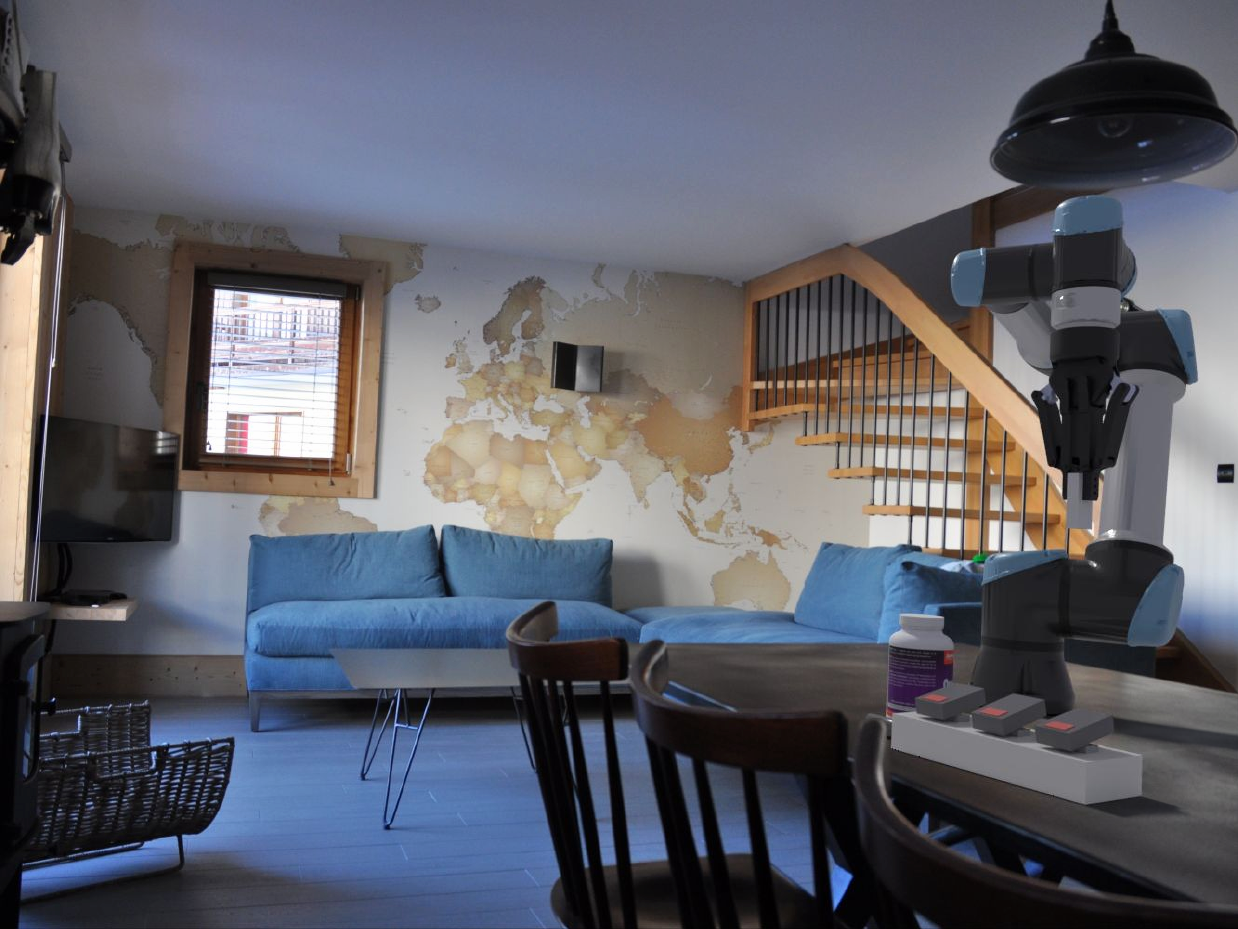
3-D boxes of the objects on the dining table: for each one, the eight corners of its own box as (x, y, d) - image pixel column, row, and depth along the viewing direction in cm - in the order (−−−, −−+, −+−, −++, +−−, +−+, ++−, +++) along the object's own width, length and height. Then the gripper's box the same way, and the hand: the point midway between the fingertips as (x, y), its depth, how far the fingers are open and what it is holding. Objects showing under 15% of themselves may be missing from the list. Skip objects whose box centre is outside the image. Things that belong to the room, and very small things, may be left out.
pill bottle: (954, 738, 130) (958, 620, 130) (887, 732, 131) (891, 616, 132) (947, 726, 138) (951, 615, 138) (884, 720, 139) (888, 611, 140)
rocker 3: (1079, 724, 110) (1077, 706, 110) (1114, 732, 107) (1112, 714, 107) (1036, 742, 107) (1034, 724, 106) (1071, 751, 103) (1069, 732, 103)
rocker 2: (1015, 709, 117) (1013, 692, 117) (1046, 715, 114) (1044, 699, 113) (973, 728, 113) (970, 711, 113) (1004, 735, 110) (1001, 718, 110)
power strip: (895, 729, 133) (897, 692, 133) (1141, 795, 105) (1142, 748, 105) (842, 734, 128) (844, 695, 129) (1084, 804, 100) (1086, 754, 100)
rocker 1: (958, 697, 124) (956, 682, 124) (985, 703, 120) (984, 687, 120) (916, 713, 120) (914, 697, 120) (943, 720, 117) (942, 703, 117)
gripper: (1017, 332, 128) (1011, 525, 127) (1116, 317, 117) (1110, 529, 116) (1057, 339, 132) (1051, 528, 131) (1156, 326, 121) (1151, 532, 120)
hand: (1079, 528), depth 123 cm, fingers closed
